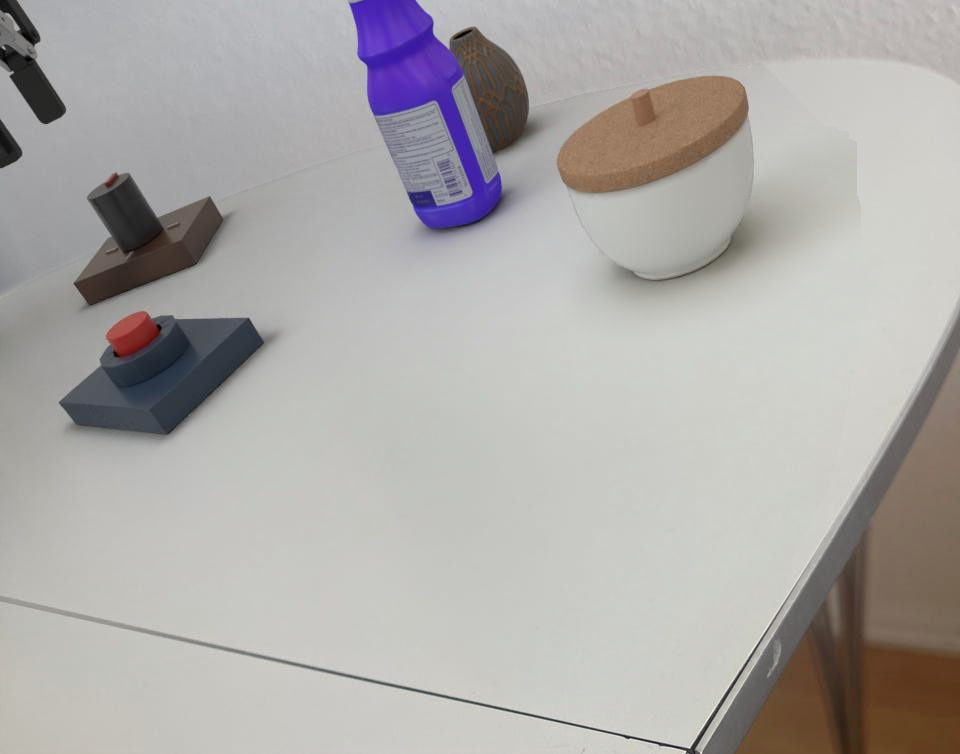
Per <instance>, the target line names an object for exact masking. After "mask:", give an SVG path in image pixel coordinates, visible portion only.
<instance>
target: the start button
mask: <svg viewBox="0 0 960 754" xmlns="http://www.w3.org/2000/svg"><path fill="white" fill-rule="evenodd" d="M152 319H153V318H152V317H151V316H150V314H149V312H147V311H145V310H141V311H137V312H133V313H131V314H129V315H127V316H126V317H123V318H122V319H120V320H119V321H117V322H116V323H115V324H114V325H112V326H111V327H110V329H108V331H107V332H106V334H105V339H106V340H107V342H108V343H109V345H111V346H112V347H113V349H114V350H115V351H116V353H117V354H118V356H119V357H125V356H128V355H131V354H133V353H135V352H137V351H139V350H140V349H142V348H144V347H145V346H147V345H148V344H149V343H151V342H152V341H153V340H154V339H155V338H156V337H157V336H158V335H159V333H160V330H159V329H158V328H157V326H156V325H155V323H154V322H153V320H152Z"/></svg>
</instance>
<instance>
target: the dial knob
mask: <svg viewBox="0 0 960 754" xmlns="http://www.w3.org/2000/svg"><path fill="white" fill-rule="evenodd" d="M86 200H87V201H88V203H89V205H90V206H91V208H92V209H93V210H94V212H95V214H96V215H97V217H98V218H99V219H100V221H101V223H102V224H103V225H104V227H105V228H106V230H107V231H108V233H109V235H110V237H113V239H114V240H115V242H116V243H117V245H118V246H119V248H120V249H121V251H123V252H126V251H131V250H133V249H136V248H138V247H140V246H142V245H144V244H146V243H147V242H149V241H150V240H152V239H153V238H154V237H156V236H157V235H158V234H159V233H160V232H161V230H162V228H163V226H162V224H161V223H160V221H159V220H158V216H157V214H156V213H155V212H154V210H153V208H152V206H151V205H150V203H149V202H148V200H147V198H146V197H145V195H144V194H143V192H142V191H141V189H140V187H139V186H138V184H137V182H136V181H135V179H134V178H133V176H132V174H131V173H130V172H124V173H120V174H118V172H116V171H115V172H114V173H112V174H111V175H109V177H108V178H107V180H105V181H104V182H103V183H101V184H99V185H97V186H96V187H95V188H93V190H91V191H90V192H89V194H88V195H87V196H86Z"/></svg>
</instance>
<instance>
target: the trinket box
mask: <svg viewBox="0 0 960 754" xmlns="http://www.w3.org/2000/svg"><path fill="white" fill-rule="evenodd" d="M749 105H750V104H749V99H748V95H747V91H746V86H744V85H743V84H742V82H740V81H739V80H737V79H735V78H733V77H730V76H725V75H702V76H695V77H689V78H684V79H678V80H675V81H671V82H667V83H663V84H661V85H657V86H654V87H652V88H641V89H639V90H637V91H635V92H633V93H632V94H631V95H630V96H629V97H627V98H625V99H622V100H621V101H619V102H617V103H615V104H614V105H612V106H610V107H608V108H606V109H605V110H603V111H601V112H600V113H597V114H596V115H595V116H594V117H592V118H591V119H589V120H588V121H586V122H585V123H584V124H581V126H579V127H578V128H577V129H576V130H575V131H574V132H573V133H572V134H571V135H570V136H569V137H568V138H567V139H566V140H565V141H564V142H563V144H562V146H561V147H560V149H559V151H558V153H557V156H556V167H557V170H558V173H559V176H560V178H561V181H562V183H563V184H564V185H565V188H566V190H567V193H568V197H569V200H570V202H571V205H572V207H573V210H574V213H575V215H576V217H577V219H578V221H579V223H580V225H581V227H582V229H583V231H584V232H585V234H586V236H587V237H588V238H589V240H590V242H591V243H592V244H593V245H594V246H595V248H596V249H598V251H599V252H600V253H601V254H602V255H603V256H604V257H606V258H607V259H608V260H609V261H611V262H613V263H614V264H616V265H618V266H620V267H621V268H624V269H627V270H629V271H632V273H633V274H634V275H635V276H637V277H638V278H641V279H643V280H650V281H659V280H667V279H674V278H677V277H681V276H684V275H688V274H690V273H692V272H694V271H697V270H699V269H701V268H703V267H705V266H707V265H709V264H710V263H712V262H713V261H714V260H716V259H717V258H718V257H719V256H721V255H722V254H723V253H724V252H725V251H726V250H727V248H728V247H729V246H730V244H731V242H732V237H733V236H732V235H733V234H734V232H735V231H736V229H737V228H738V226H739V225H740V223H741V221H742V219H743V218H744V216H745V213H746V211H747V209H748V206H749V203H750V200H751V196H752V192H753V191H752V190H753V187H754V178H755V154H754V153H755V152H754V141H753V134H752V127H751V122H750V118H749V109H750V106H749Z"/></svg>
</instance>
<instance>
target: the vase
mask: <svg viewBox="0 0 960 754" xmlns="http://www.w3.org/2000/svg"><path fill="white" fill-rule="evenodd" d="M448 46H449V47H448V49H449V50H450V51H451V52H452V53H453V54H454V56H455V57H456V59H457V60H458V62H459V64H460V66H461V69H462V71H463V74H464V76H465V79H466V82H467V84H468V87H469V90H470V93H471V96H472V98H473V101H474V104H475V107H476V109H477V112H478V115H479V118H480V120H481V123H482V126H483V129H484V132H485V134H486V137H487V140H488V143H489V145H490V148H491V151H492V152H495V151H499V150H501V149H503V148H506V147H507V146H509V145H511V144H513V143H514V142H516V141H517V140H518V139H519V138H520V137H521V136H522V135H523V133H524V131H525V129H526V126H527V122H528V120H529V114H530V100H529V99H530V98H529V92H528V88H527V85H526V81H525V78H524V76H523V73H522V71H521V69H520V67H519V66H518V63H516V61H515V60H514V59H513V57H512V56H511V55H510V54H509V53H508V52H507V50H505V49H504V48H502V47H500V46H499V45H497V44H496V43H495V42H493V41H491V39H489V38H487V37H486V36H485V35H484V34H483V33H482V32H481V31H480V30H479V28H478V27H477V26H469V27H466V28H464V29H462V30H459V31H457V32H456V33H454V34H453V35H451V37H450V38H449V41H448Z"/></svg>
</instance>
